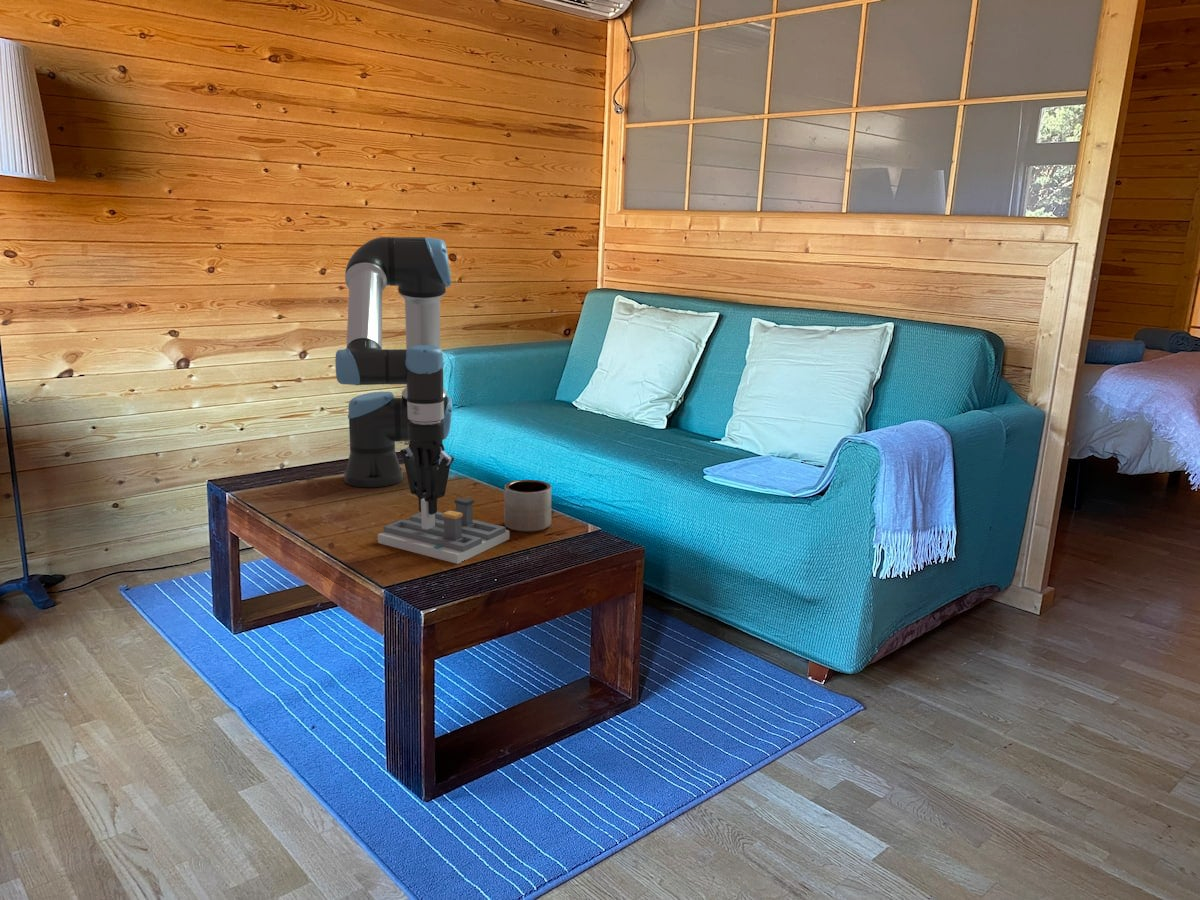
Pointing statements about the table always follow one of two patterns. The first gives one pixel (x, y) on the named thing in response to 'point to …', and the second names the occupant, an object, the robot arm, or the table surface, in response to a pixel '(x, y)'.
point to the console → (434, 545)
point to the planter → (527, 505)
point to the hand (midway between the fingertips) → (428, 527)
